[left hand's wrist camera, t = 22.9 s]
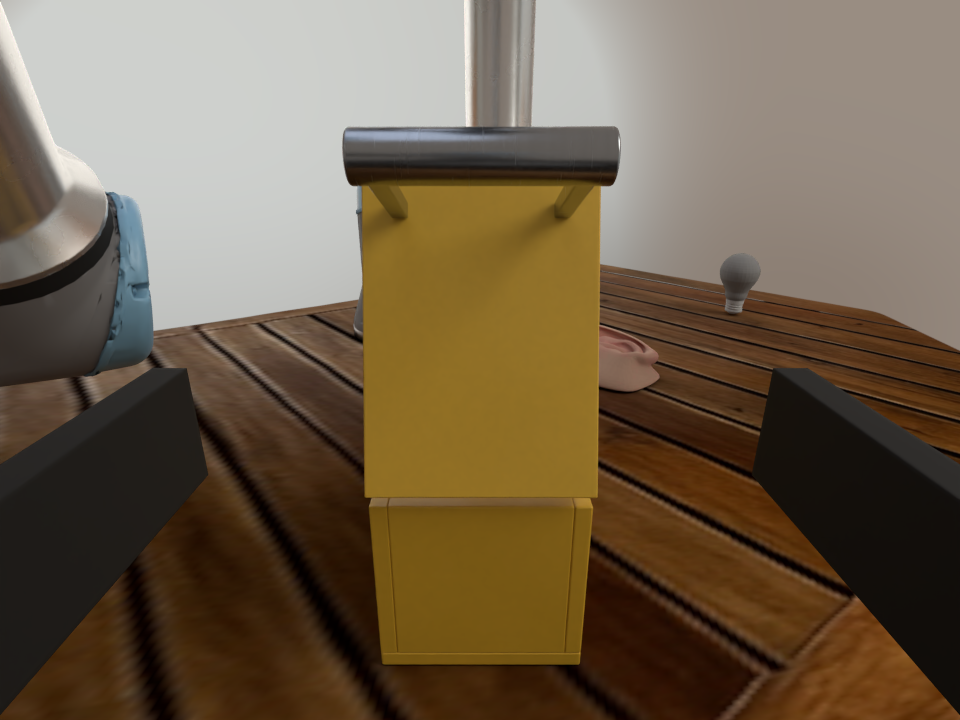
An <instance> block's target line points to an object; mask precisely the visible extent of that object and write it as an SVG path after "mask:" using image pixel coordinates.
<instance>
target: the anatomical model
mask: <svg viewBox="0 0 960 720" xmlns="http://www.w3.org/2000/svg"><path fill="white" fill-rule="evenodd" d="M658 357H659V356H658V353H657V352H655V351H654V350H653V349H651V348H650V347H649V346H647V345H646V344H645V343H643V342H642V341H640V340H639V339H637V338H635V337H633V336H630V335H628V334H626V333H623V332H620V331H618V330H615V329H612V328H609V327H605V326H601V325H599V387H603V388H607V389H611V390H616V391H623V392H631V391H637V390H640V389H642V388H645V387H647V386H649V385H651V384H653V383H654V382H656V381H657V380H658V379H659V377H660V376H659V374H658V373H657V372H656V371H655V370H654V369H653V368H652V366H651V365H652V364H653V363H655V362H656V361H657V360H658Z"/></svg>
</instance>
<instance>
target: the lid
mask: <svg viewBox="0 0 960 720" xmlns="http://www.w3.org/2000/svg"><path fill="white" fill-rule="evenodd" d="M620 152H621V142H620V134H619V130H618V128H616V127H347V128H345V130H344V134H343V140H342V154H343V164H344V170H345V174H346V177H347V180H348V182H349V184H350V185H352V186H362V281H363V384H364V488H365V498H597V490H598V393H599V297H600V200H601V186H611V185H613V184H614V182H615V179H616V177H617V173H618V169H619V163H620Z"/></svg>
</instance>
